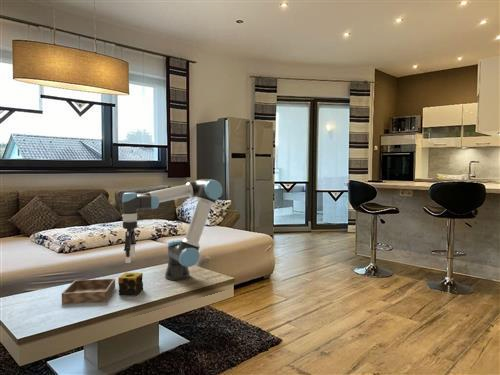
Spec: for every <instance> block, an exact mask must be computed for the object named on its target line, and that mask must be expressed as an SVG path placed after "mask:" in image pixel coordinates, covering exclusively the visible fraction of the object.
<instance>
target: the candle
mask: <svg viewBox="0 0 500 375" xmlns="http://www.w3.org/2000/svg"><path fill="white" fill-rule="evenodd" d="M143 274H144V273H143V272H124V273H123V274H121V275H120V276H119V277H117V278H118V280H117V284H118V295H119V296H127V297H128V296H130V297H137V296H138V295H139V294H140V293H141V292H142V291H144V282H143V277H144V276H143Z"/></svg>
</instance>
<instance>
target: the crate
mask: <svg viewBox="0 0 500 375" xmlns="http://www.w3.org/2000/svg"><path fill="white" fill-rule="evenodd" d="M115 289H116V278H100V279H99V278H97V279H96V278H94V279H93V278H91V279H75V280H74V281H72V283H70V285H69V286H67V287H66V288H65V290H64V291H62V293H61V304H62V305H72V304H91V303H92V304H93V303H94V304H95V303H107V302H108V301H109V299H110V297H111V296H112V294H113V293H114V291H115Z"/></svg>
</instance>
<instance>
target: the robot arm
mask: <svg viewBox="0 0 500 375" xmlns="http://www.w3.org/2000/svg"><path fill="white" fill-rule="evenodd" d="M222 194H223V187H222V184H221V183H220V182H219V181H217V180H216V179H212V178H211V179H209V178H201V179H196V180H193V181H189V182H187V183H186V184H182V185H177V186H173V187H167V188H163V189H159V190H158V189H157V190H151V191H148V192H143V193H141V192H139V193H137V192H124V193H122V200H121V203H122V207H121V208H122V214H121V217H122V229H125V230H126V231H125V236H124V237H125V238H124V249H123V252H124V253H125V256H124V257H125V262H124V263H126V264H131V262H132V257H136V245H137V241H136V234H135V229H137V228H138V221H137V220H138V210H155V209H158V207H159V206H160V203H164V202H168V201H174V200H178V199H182V198H187V197H189V198H194V197H195V198H197V203H196V206H195V209H194V211H193V215H192V218H191V221H190V223H189V226H188V229H187V232H186V234H185V237H184V238H183V239H177V240H170V241H168V243H167V268H166V270H165V273H164V275H165V276H164V277H165V279H167V280H170V281H181V280H186V279H188V277H189V278H190V270H189V268H191V267H194V266H195V265H197V263H198V262H199V260H200V252H199V250H200V247H201V246H200V244H199V243H200V239H201V237H202V234H203V231H204V227H205V226H206V222H207V220H208V217H209V214H210V212H211V208H212V207H213V205H215V204H216V202H217V200H218V199H219V198H220V197H221V196H222Z"/></svg>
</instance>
